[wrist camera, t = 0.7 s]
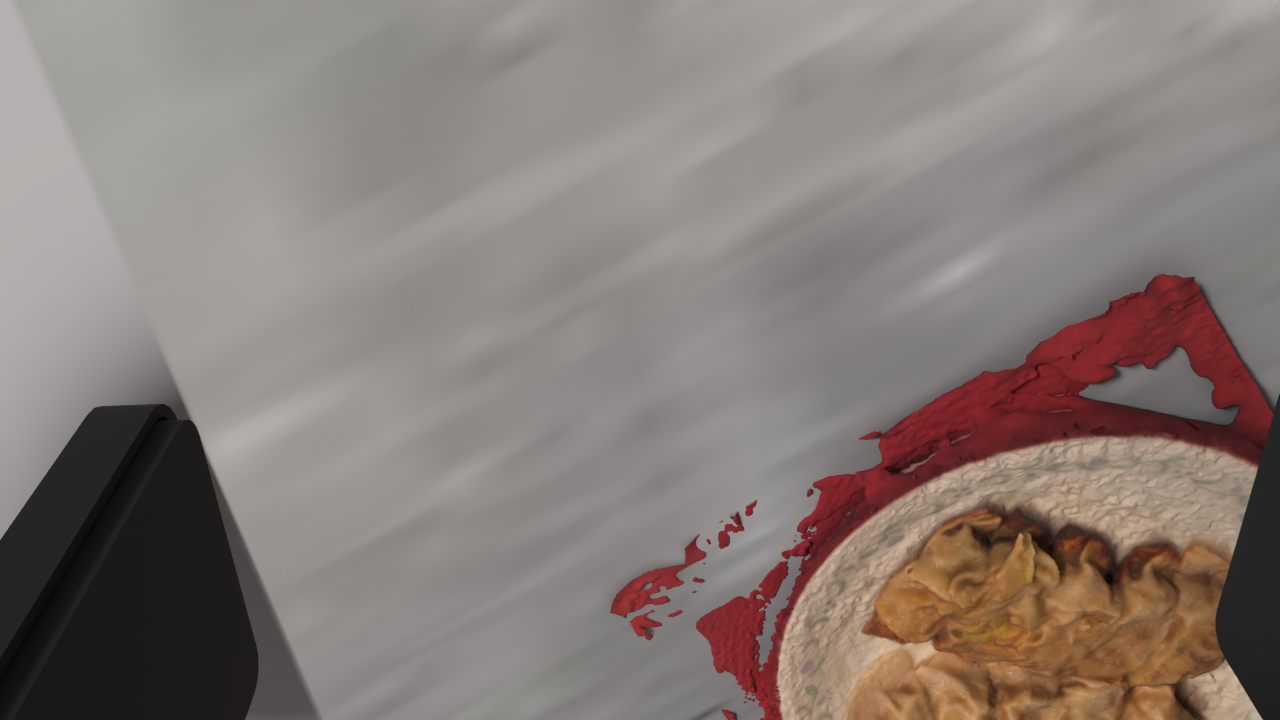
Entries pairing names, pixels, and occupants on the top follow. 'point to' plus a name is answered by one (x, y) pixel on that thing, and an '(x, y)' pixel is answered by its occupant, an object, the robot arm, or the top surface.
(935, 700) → the plate with food
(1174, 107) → the top surface
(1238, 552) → the robot arm
